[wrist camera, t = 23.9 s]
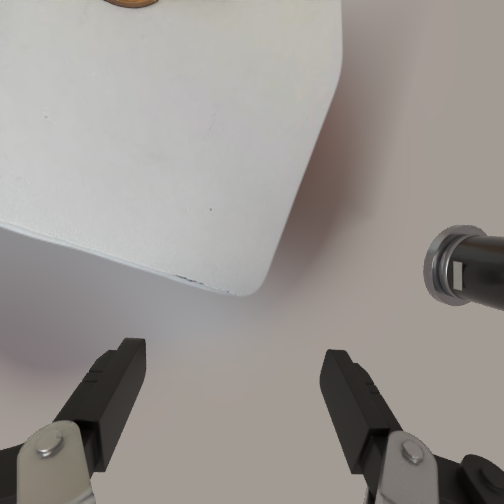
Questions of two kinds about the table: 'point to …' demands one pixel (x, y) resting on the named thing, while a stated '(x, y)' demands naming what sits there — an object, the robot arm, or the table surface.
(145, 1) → the coaster
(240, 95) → the table surface
